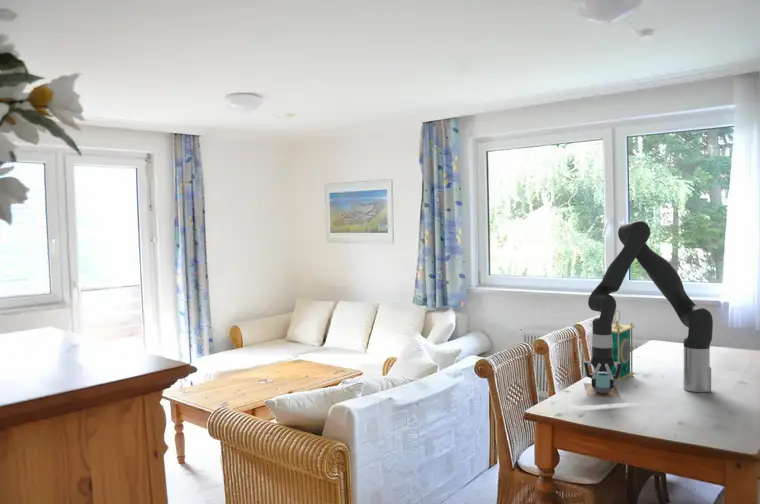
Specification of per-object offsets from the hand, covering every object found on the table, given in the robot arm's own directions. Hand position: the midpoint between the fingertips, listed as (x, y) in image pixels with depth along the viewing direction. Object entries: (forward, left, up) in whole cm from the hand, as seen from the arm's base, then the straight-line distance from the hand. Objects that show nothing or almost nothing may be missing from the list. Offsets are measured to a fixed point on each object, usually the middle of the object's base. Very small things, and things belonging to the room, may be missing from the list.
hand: (602, 388), depth 231 cm
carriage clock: (-9, -29, -4) cm, 30 cm away
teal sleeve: (0, 0, -1) cm, 1 cm away
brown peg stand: (0, -5, -3) cm, 6 cm away
